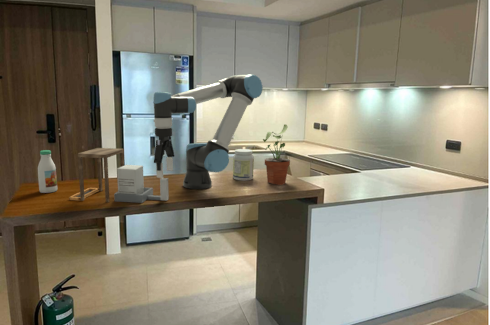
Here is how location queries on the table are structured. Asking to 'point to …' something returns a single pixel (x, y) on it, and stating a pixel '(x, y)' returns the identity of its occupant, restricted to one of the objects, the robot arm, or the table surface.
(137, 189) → the supplement box
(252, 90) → the robot arm
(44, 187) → the milk bottle
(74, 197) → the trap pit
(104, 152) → the tunnel
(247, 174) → the supplement tub
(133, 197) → the cradle
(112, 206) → the table surface
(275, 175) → the potted plant
